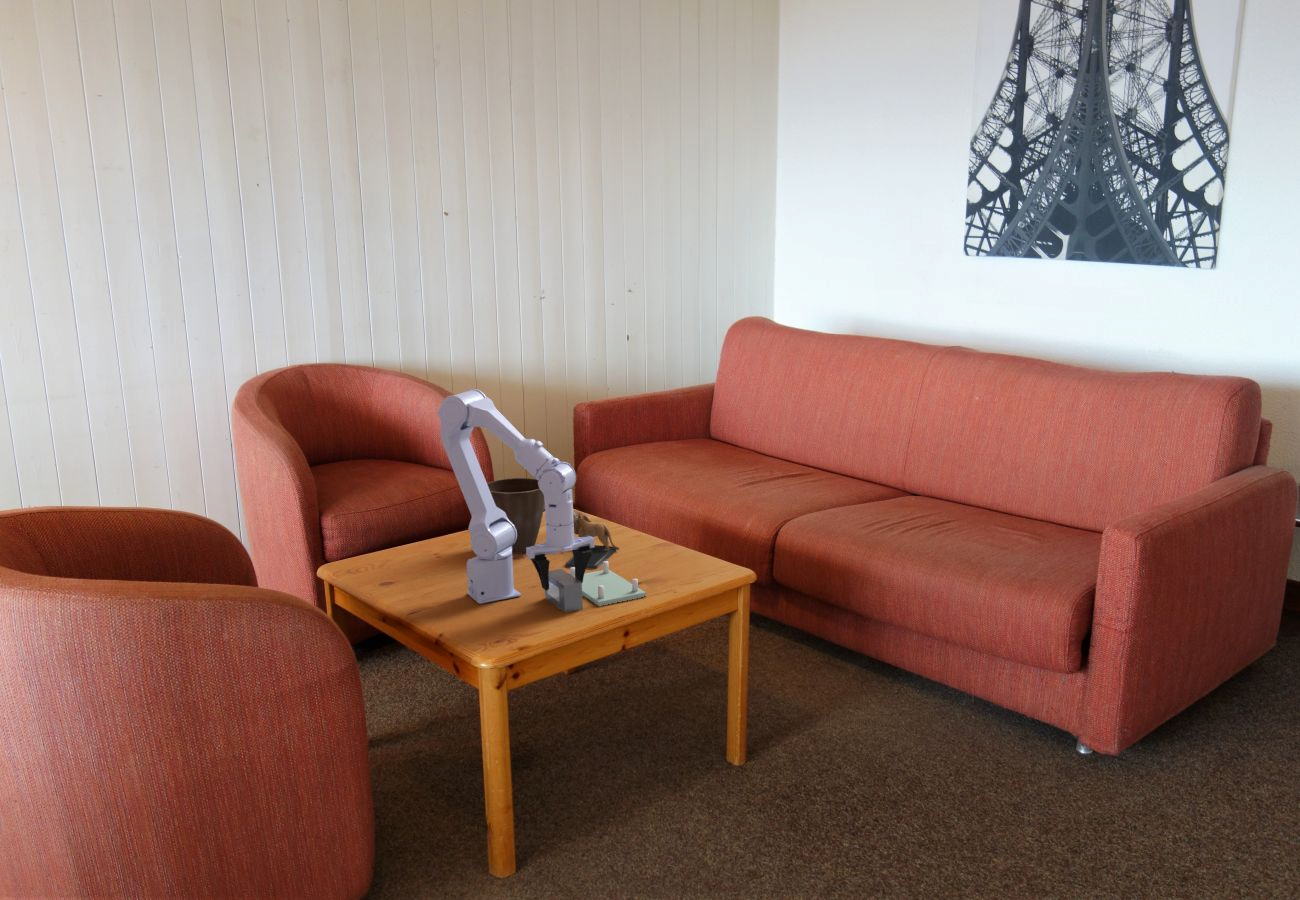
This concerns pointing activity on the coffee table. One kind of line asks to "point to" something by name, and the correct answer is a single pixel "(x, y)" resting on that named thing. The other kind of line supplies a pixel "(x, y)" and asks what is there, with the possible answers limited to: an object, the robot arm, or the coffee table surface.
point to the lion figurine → (591, 529)
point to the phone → (595, 557)
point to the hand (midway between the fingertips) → (562, 585)
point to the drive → (564, 591)
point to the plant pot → (520, 508)
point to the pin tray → (608, 587)
